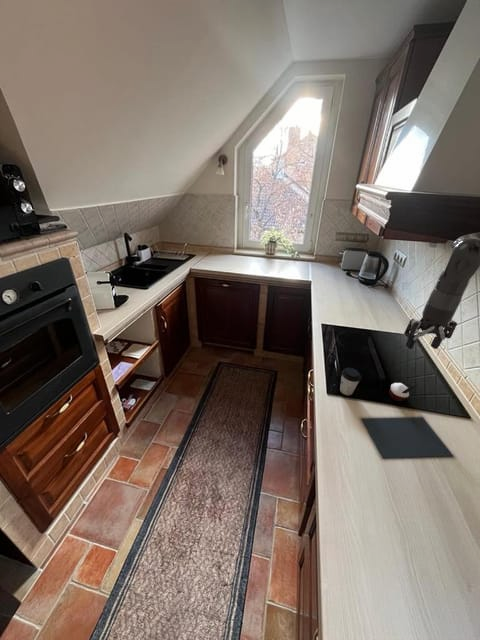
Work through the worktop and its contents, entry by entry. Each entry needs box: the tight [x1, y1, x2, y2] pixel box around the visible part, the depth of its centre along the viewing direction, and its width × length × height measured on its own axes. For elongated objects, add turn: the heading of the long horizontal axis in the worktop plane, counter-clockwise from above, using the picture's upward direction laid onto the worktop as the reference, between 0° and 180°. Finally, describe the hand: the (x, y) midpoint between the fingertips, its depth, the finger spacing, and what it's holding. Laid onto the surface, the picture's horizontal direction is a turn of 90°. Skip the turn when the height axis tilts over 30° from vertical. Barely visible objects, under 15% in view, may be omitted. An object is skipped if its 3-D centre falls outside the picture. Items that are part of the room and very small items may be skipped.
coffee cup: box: [339, 367, 362, 396], centre depth 97 cm, size 7×7×10 cm
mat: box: [361, 416, 454, 459], centre depth 82 cm, size 22×14×1 cm, turn 92°
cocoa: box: [388, 382, 418, 403], centre depth 94 cm, size 10×6×12 cm, turn 155°
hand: (421, 347), depth 85 cm, fingers open, 8 cm apart
